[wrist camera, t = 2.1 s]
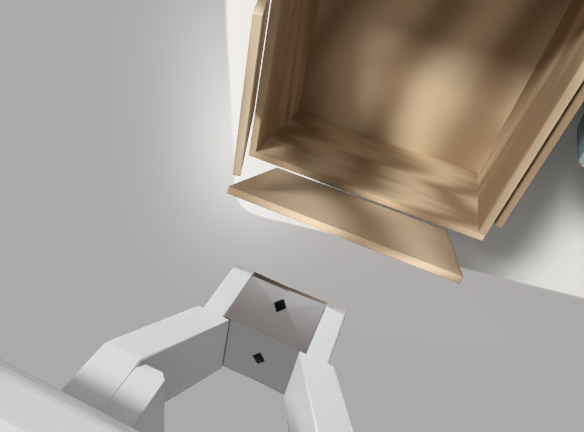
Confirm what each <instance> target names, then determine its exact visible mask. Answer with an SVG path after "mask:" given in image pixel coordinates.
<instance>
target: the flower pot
mask: <svg viewBox="0 0 584 432" xmlns="http://www.w3.org/2000/svg"><path fill="white" fill-rule="evenodd" d="M577 145H578V156H579V164H580V165H581V166H582V167H584V115H583V116H582V118H581V120H580V122H579V125H578V129H577Z"/></svg>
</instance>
